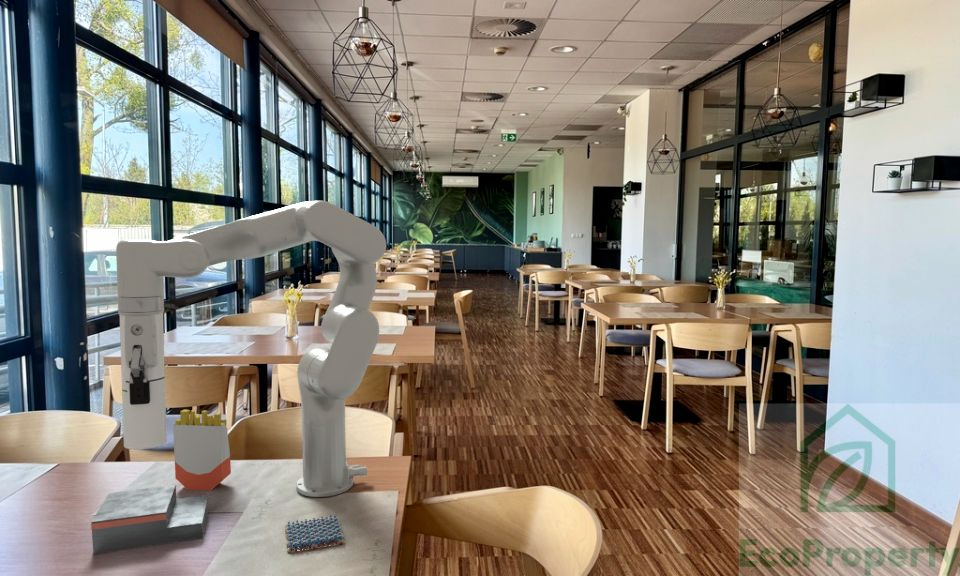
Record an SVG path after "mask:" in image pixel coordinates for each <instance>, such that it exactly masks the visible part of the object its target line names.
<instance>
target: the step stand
mask: <svg viewBox="0 0 960 576" xmlns="http://www.w3.org/2000/svg"><path fill="white" fill-rule="evenodd" d="M209 508H210V505H209V495H208V494H206V495H198V496H189V497H182V498H177V485H176V484H173V485H165V486H155V487H148V488H138V489H131V490H123V491H121V490H120V491H116V492H115V491H113V492H108V494H107V495H106V497H105V498H104V500H103V502H102V504H101V506H100V507H99V509H98V511H97V512H96V514H95V515H94V517H93V519H92V521H91V523H90V526H91V527H90V529H91V538H92V554H93V555H94V554H95V555H97V554H103V553H109V552H115V551H116V552H117V551H122V550H123V551H124V550H131V549H137V548H138V549H139V548H145V547H150V546H158V545H164V544H165V545H166V544H170V543H172V544H173V543H178V542H185V541H192V540H193V541H194V540H199V539H203V537H204V534H205V529H206V524H207V519H208V515H209V510H210V509H209Z"/></svg>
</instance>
